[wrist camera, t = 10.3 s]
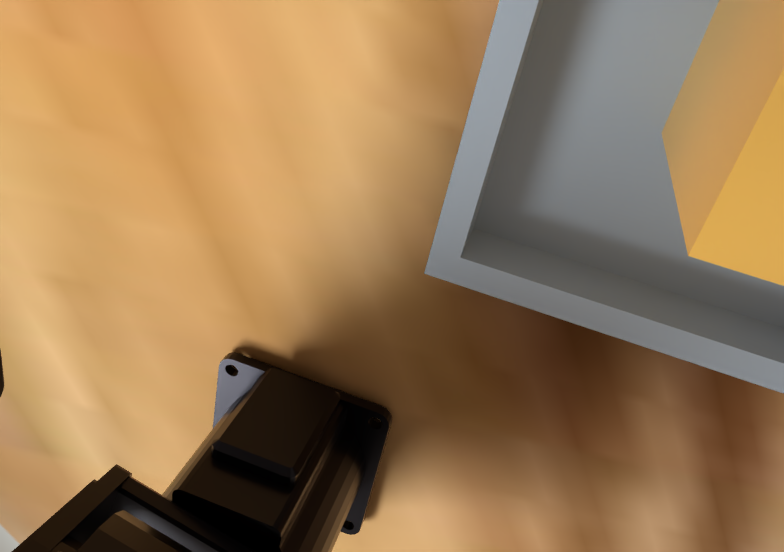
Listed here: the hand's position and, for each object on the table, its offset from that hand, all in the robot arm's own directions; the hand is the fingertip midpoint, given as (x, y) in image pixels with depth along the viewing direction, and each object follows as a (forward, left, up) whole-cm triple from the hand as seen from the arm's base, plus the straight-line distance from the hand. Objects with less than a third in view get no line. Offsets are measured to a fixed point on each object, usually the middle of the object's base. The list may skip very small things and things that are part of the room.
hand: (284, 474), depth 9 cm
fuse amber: (+5, -6, -11) cm, 14 cm away
